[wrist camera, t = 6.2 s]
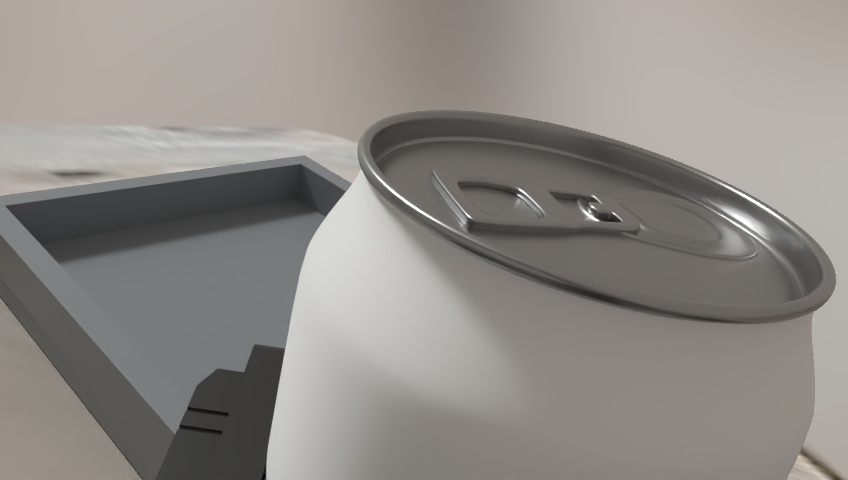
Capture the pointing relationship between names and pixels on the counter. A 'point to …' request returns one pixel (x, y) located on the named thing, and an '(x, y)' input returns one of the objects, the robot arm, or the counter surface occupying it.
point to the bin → (160, 283)
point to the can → (545, 315)
